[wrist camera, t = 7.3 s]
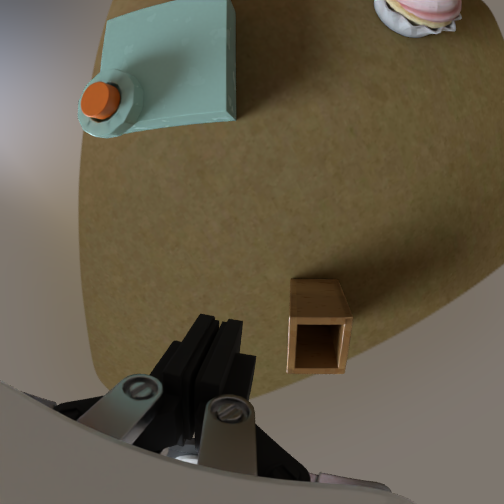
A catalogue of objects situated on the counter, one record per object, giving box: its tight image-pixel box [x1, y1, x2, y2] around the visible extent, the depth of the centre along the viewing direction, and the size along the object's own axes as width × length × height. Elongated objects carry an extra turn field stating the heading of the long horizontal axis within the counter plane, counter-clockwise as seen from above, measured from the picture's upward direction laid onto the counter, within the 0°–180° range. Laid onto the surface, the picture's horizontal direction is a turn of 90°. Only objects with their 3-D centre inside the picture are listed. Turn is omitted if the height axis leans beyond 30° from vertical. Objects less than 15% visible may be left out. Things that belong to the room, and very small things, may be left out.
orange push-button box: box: [78, 0, 236, 138], centre depth 21 cm, size 13×13×6 cm
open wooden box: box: [287, 279, 353, 374], centre depth 24 cm, size 5×4×8 cm
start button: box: [81, 82, 120, 119], centre depth 19 cm, size 3×3×2 cm
